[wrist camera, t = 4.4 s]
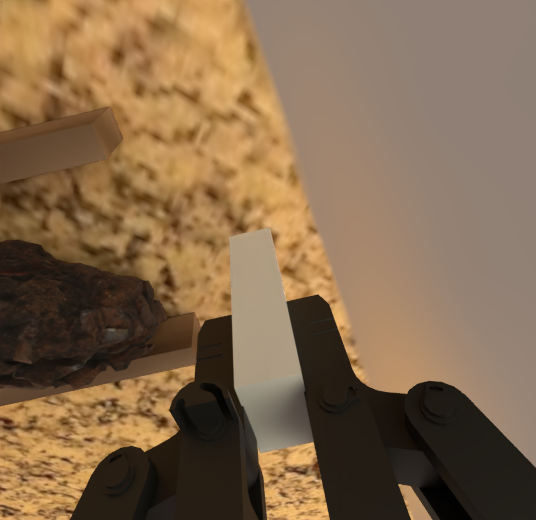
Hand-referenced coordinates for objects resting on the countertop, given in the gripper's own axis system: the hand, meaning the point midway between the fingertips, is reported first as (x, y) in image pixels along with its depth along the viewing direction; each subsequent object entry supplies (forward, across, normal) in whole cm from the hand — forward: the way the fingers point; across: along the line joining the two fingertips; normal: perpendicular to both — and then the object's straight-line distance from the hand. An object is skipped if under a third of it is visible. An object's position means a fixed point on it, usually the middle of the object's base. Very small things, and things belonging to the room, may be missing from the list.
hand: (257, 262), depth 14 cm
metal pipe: (+4, -14, -1) cm, 15 cm away
